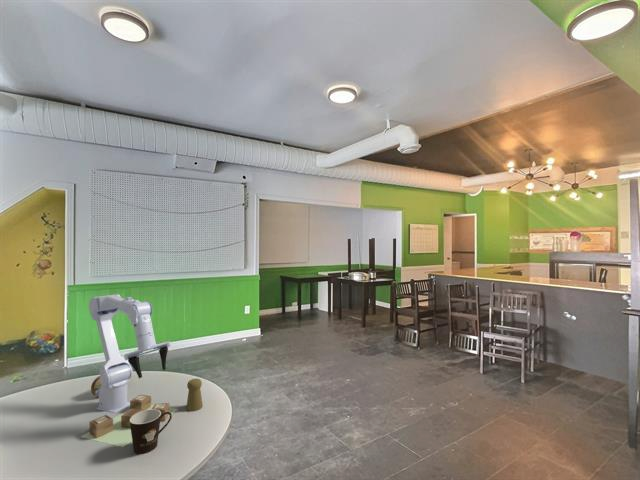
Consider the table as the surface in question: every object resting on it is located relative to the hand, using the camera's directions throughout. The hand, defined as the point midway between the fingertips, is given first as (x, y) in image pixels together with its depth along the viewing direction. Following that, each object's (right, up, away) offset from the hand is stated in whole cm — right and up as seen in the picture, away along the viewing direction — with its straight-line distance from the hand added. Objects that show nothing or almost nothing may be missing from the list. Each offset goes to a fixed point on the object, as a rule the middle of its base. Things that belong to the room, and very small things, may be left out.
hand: (152, 373), depth 114 cm
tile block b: (+1, -18, +4) cm, 18 cm away
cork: (+10, -18, +11) cm, 24 cm away
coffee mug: (+6, -18, -12) cm, 23 cm away
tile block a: (-15, -18, -5) cm, 24 cm away
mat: (-8, -18, +1) cm, 20 cm away
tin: (-31, -19, +26) cm, 45 cm away
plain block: (-7, -18, 0) cm, 19 cm away
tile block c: (-10, -18, +10) cm, 23 cm away
